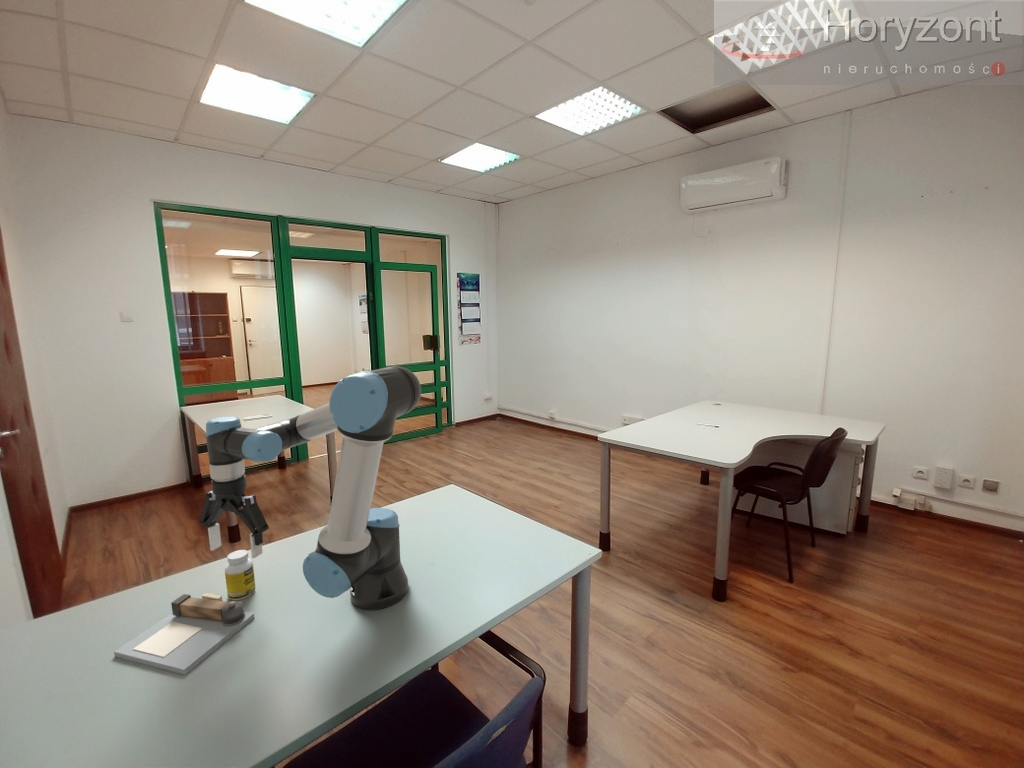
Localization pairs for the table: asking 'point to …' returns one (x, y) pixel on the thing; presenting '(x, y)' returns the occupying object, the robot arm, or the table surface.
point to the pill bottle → (239, 575)
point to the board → (180, 641)
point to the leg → (208, 609)
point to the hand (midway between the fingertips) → (236, 551)
